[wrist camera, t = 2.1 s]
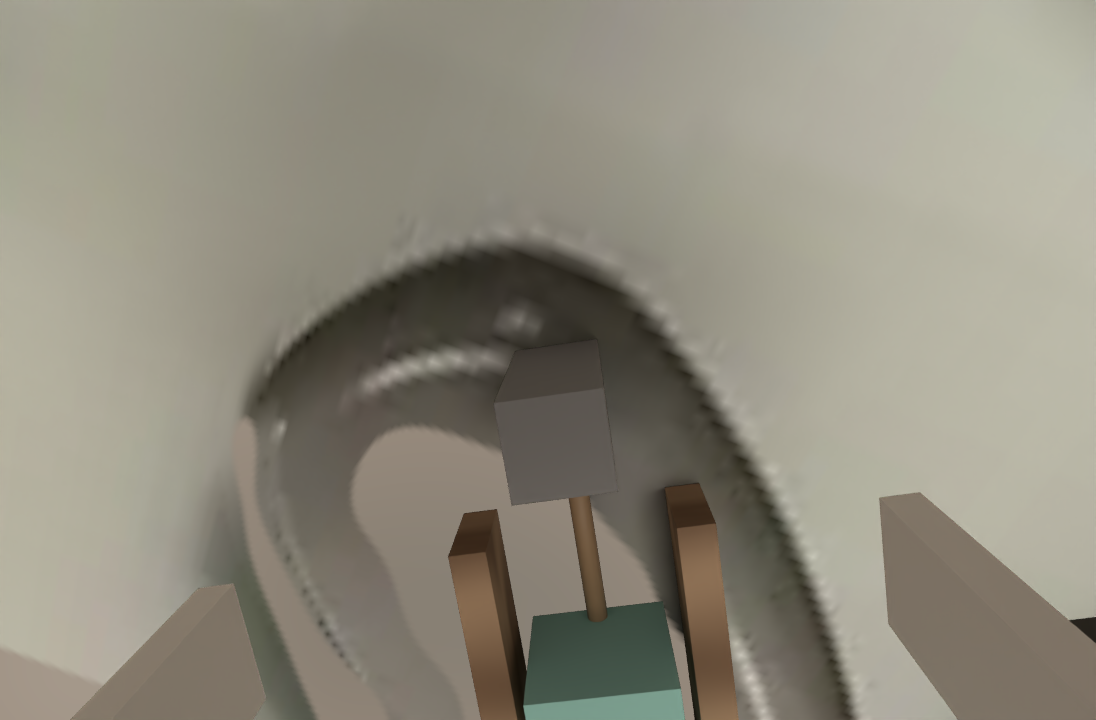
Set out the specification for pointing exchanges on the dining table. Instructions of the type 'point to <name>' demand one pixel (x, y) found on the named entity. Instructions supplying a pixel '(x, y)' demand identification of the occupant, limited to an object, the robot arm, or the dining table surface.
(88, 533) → the dining table surface
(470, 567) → the wooden u-shaped block
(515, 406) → the cube dumbbell
